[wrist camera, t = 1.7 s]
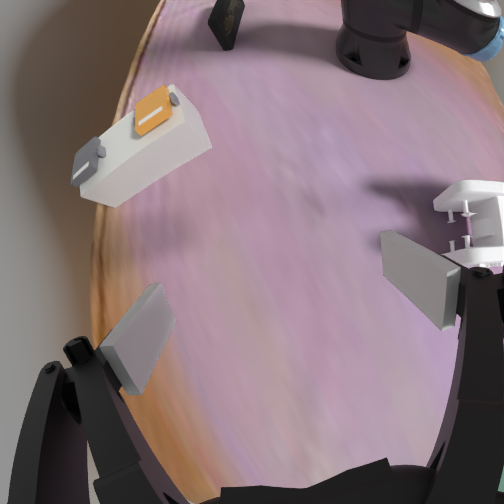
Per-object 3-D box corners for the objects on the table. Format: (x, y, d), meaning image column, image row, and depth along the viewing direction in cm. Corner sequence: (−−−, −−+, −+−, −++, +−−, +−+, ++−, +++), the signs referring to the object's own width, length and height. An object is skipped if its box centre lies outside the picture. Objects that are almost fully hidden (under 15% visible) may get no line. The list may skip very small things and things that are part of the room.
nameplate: (238, 6, 50) (225, -19, 40) (245, 5, 49) (232, -20, 40) (224, 52, 49) (207, 23, 39) (232, 50, 48) (215, 21, 39)
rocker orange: (174, 114, 35) (167, 107, 34) (140, 136, 37) (133, 130, 35) (170, 89, 38) (164, 83, 37) (140, 109, 40) (134, 104, 38)
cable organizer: (497, 203, 31) (534, 183, 20) (504, 266, 30) (544, 261, 19) (428, 202, 35) (457, 176, 24) (434, 271, 34) (468, 268, 23)
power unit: (212, 147, 46) (180, 115, 35) (115, 208, 52) (74, 194, 41) (197, 109, 48) (167, 76, 37) (109, 169, 54) (72, 151, 43)
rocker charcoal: (98, 168, 39) (91, 164, 38) (76, 188, 40) (69, 184, 39) (101, 139, 42) (95, 135, 41) (80, 158, 44) (74, 154, 42)
